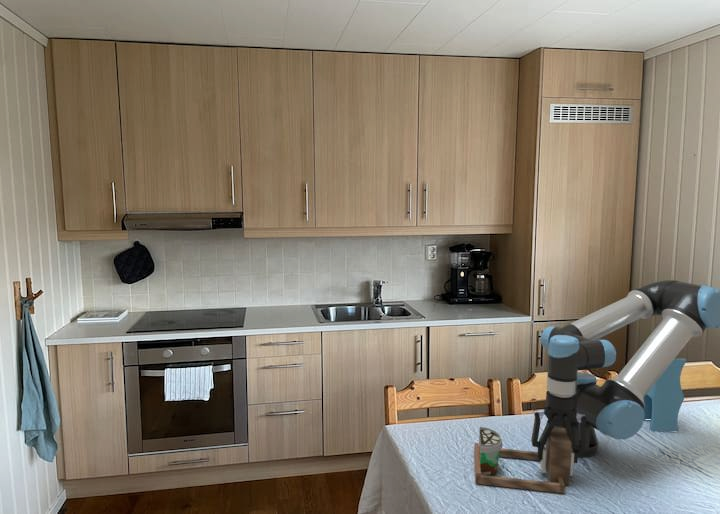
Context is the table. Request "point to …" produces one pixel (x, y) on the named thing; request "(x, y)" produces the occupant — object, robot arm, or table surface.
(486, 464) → the food container
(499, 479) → the walnut bed frame
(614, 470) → the table surface
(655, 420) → the blue wavy channel stand
